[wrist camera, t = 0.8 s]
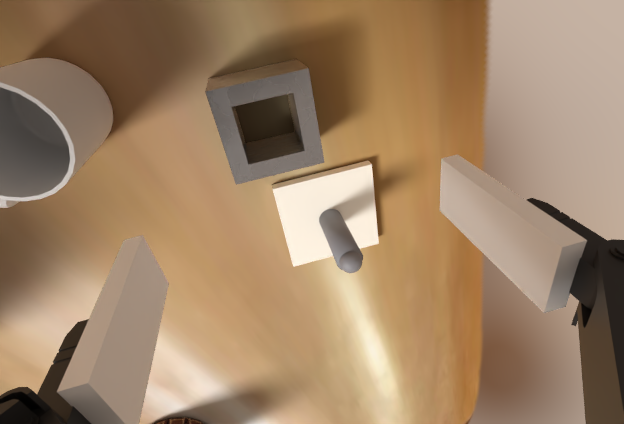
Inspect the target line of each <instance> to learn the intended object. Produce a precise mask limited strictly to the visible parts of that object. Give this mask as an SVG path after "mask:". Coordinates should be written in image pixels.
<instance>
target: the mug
mask: <svg viewBox="0 0 624 424" xmlns="http://www.w3.org/2000/svg"><path fill="white" fill-rule="evenodd" d="M155 424H203V423H202V422H200V421H198V420H195V419H191V418H171V419H166V420H163V421H159V422H157V423H155Z"/></svg>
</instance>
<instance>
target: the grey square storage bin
mask: <svg viewBox="0 0 624 424" xmlns="http://www.w3.org/2000/svg"><path fill="white" fill-rule="evenodd" d="M205 92H206V95H207V98H208V101H209V104H210V107H211V110H212V113H213V116H214V119H215V122H216V125H217V128H218V131H219V134H220V137H221V140H222V143H223V146H224V150H225V153H226V156H227V159H228V162H229V165H230V168H231V171H232V174H233V177H234V180H235V183H236V184H240V183H244V182H248V181H252V180H256V179H260V178H264V177H268V176H272V175H276V174H280V173H284V172H288V171H292V170H296V169H300V168H304V167H308V166H312V165H316V164H320V163H324V157H323V151H322V145H321V139H320V133H319V127H318V122H317V116H316V110H315V104H314V98H313V92H312V86H311V80H310V74H309V68H308V67H306V66H305V65H304V64H303V63H301V62H300V61H299V60H298V59H294V60H289V61H285V62H280V63H276V64H271V65H267V66H262V67H258V68H253V69H249V70H244V71H240V72H236V73H231V74H227V75H222V76H218V77H213V78H209V79H208V83H207V87H206V91H205ZM285 94H287V97H288V101H289V106H290V111H291V116H292V121H293V126H294V130H295V132H290V133H286V134H282V135H278V136H274V137H270V138H266V139H261V140H257V141H253V142H249V143H245V139H244V136H243V132H242V129H241V126H240V122H239V119H238V115H237V112H236V108H235V106H238V105H242V104H246V103H251V102H255V101H259V100H264V99H268V98H272V97H277V96H281V95H285Z"/></svg>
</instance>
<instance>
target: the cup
mask: <svg viewBox="0 0 624 424" xmlns="http://www.w3.org/2000/svg"><path fill="white" fill-rule="evenodd" d="M112 124H113V108H112V105H111V103H110V100H109V97H108V95H107V94H106V92H105V91H104V89H103V88H102V86H101V85H100V84H99V83H98V82H97V81H96V80H95V79H94V78H93V77H92V76H91V75H90V74H89V73H87V72H86V71H84V70H83V69H81V68H80V67H78V66H76V65H74V64H71V63H69V62H66V61H64V60H59V59H53V58H38V59H29V60H25V61H21V62H18V63H14V64H11V65H7V66H3V67H0V208H9V207H12V206H14V205H15V204H17V203H18V202H20V201H30V200H37V199H42V198H44V197H47V196H49V195H52V194H54V193H56V192H57V191H58V190H60V189H61V188H62V187H63V186H65V185H66V184H67V183H68V181H69V180H70V179H71V178H72V177H73V176H74V175H75V174H76V172H77V171H78V170H79V169H80V168H81V167H82V166H83V165H84V164H85V162H86V161H87V160H88V159H89V158H90V157H91V156H92V155H93V153H94V152H95V151H96V150H97V149H98V148H99V147H100V146H101V144H102V143H103V142H104V141H105V139H106V137H107V136H108V134H109V133H110V131H111V128H112Z"/></svg>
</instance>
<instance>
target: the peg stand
mask: <svg viewBox="0 0 624 424" xmlns="http://www.w3.org/2000/svg"><path fill="white" fill-rule="evenodd" d="M272 188H273V192H274V196H275V200H276V203H277V207H278V211H279V215H280V218H281V222H282V226H283V230H284V233H285V237H286V241H287V245H288V248H289V252H290V256H291V259H292V263H293V267H294V266H298V265H302V264H305V263H309V262H313V261H316V260H320V259H324V258H327V257H331V256H334V259H335V261H336V263H337V266H338V267H339V268H340V269H341V270H344V271H345V272H347V273H354V272H356V271H358V270H359V269H360V268H361V265H362V260H363V255H362V253H361V251H360V248H364V247H368V246H371V245H375V244H378V243H379V241H378V230H377V218H376V207H375V195H374V184H373V172H372V164H371V163H370V162H369V161H364V162H360V163H356V164H352V165H348V166H344V167H340V168H336V169H332V170H328V171H324V172H320V173H316V174H312V175H308V176H304V177H300V178H296V179H293V180H289V181H285V182H281V183H277V184H273V185H272Z"/></svg>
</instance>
